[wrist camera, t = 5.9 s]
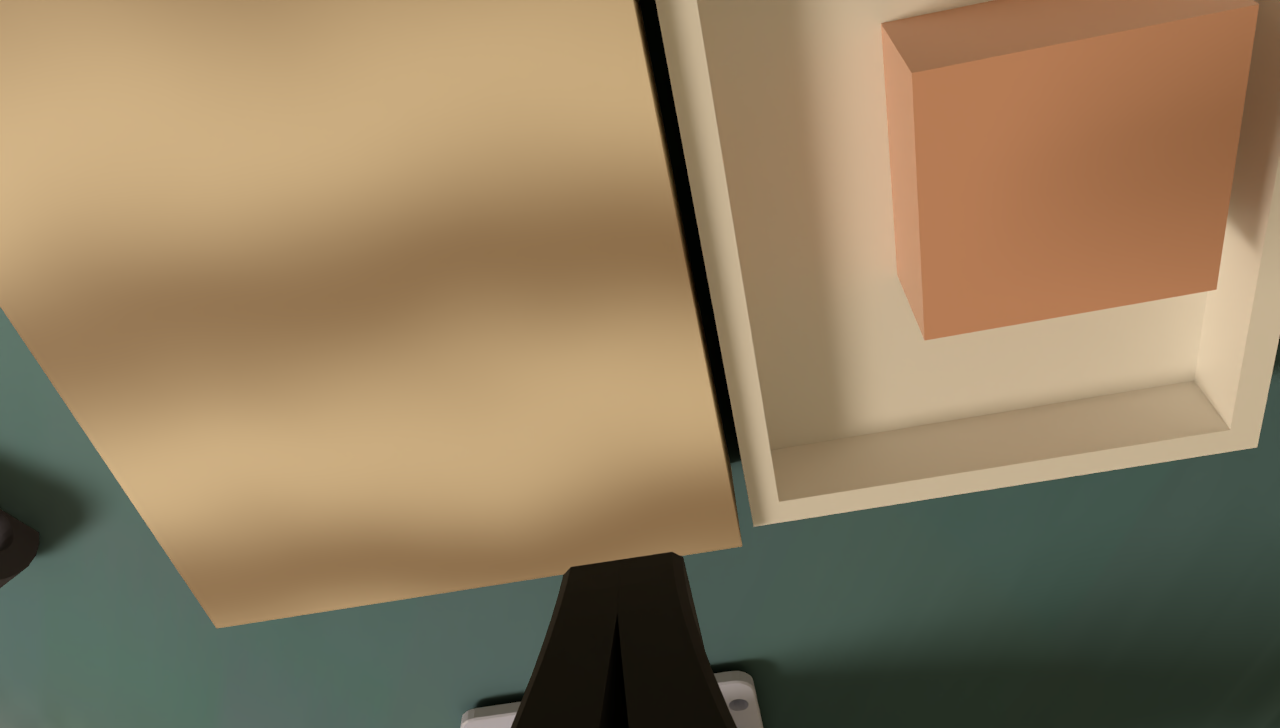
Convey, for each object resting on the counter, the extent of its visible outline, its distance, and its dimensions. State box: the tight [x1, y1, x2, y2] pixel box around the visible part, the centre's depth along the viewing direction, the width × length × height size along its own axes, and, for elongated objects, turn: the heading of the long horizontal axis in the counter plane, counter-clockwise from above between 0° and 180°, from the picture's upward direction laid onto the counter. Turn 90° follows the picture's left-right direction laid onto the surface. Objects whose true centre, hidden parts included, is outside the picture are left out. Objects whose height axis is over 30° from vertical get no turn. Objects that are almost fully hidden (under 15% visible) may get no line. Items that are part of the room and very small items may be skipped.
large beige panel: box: [0, 0, 742, 628], centre depth 19 cm, size 14×12×2 cm
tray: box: [655, 0, 1280, 527], centre depth 18 cm, size 14×10×2 cm
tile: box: [881, 0, 1259, 340], centre depth 18 cm, size 5×5×2 cm
